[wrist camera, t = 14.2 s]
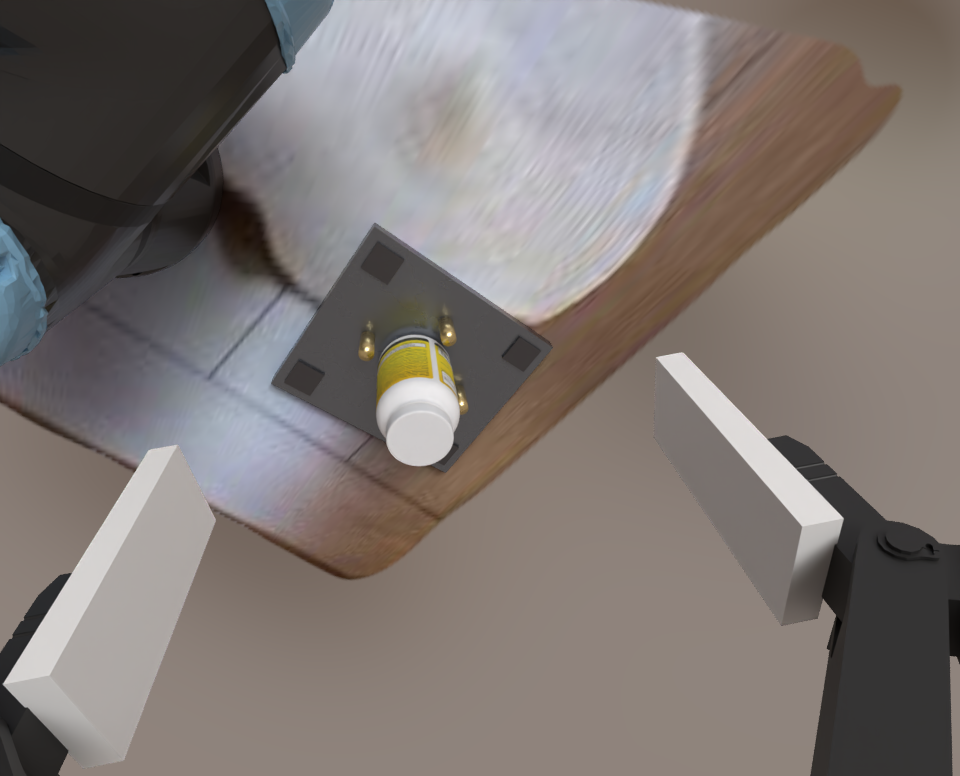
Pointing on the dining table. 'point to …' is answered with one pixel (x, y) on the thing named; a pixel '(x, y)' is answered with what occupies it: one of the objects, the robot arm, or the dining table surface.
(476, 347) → the plate
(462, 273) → the dining table surface
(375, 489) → the dining table surface
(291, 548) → the dining table surface
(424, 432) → the pill bottle
